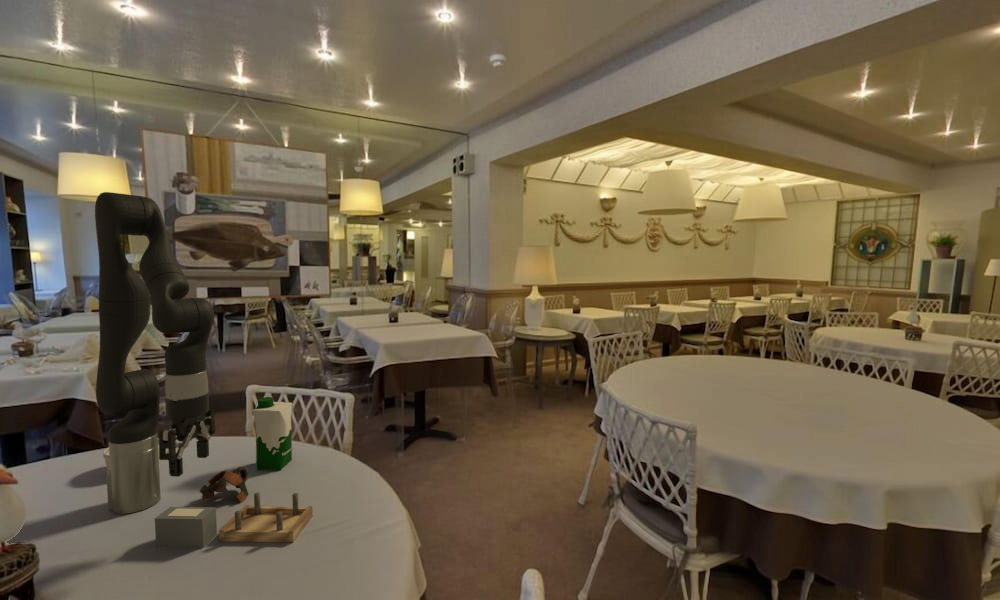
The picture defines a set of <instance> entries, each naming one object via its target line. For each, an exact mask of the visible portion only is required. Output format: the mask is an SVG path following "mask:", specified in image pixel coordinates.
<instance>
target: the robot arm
mask: <svg viewBox="0 0 1000 600" xmlns="http://www.w3.org/2000/svg"><path fill="white" fill-rule="evenodd" d="M94 204H95V205H94V218H95V219H94V220H95V230H96V231H95V232H96V239H97V240H96V242H97V249H98V260H99V261H98V262H99V263H98V265H99V267H98V269H99V270H98V271H99V272H98V273H99V275H98V276H99V277H98V281H99V282H98V284H99V285H98V319H99V320H98V321H99V355H98V362H97V363H98V364H97V372H96V381H95V382H96V384H95V398H96V403H97V404H96V405H97V406H98V408H99V410H100V411H101V412H102V414H104V415H106V416H114V415H118V414H123V413H126V412H127V414H126V415H125V417H124V418H122V419H121V420H120V421H119V422H117V423H115V424H114V425H112V426H111V427H110V428H109V430H108V433H107V437H108V439H107V440H108V447H109V456H110V470H109V471H107V470H106V474H105V478H106V490H107V491H106V492H107V508H108V511H113V513H116V514H120V515H121V514H123V515H125V514H133V513H136V512H140V511H143V510H146V509H148V508H149V509H150V507H152V506H154V505H156V504H157V503H158V502H159V501H160V500H161V496H162V495H161V480H160V479H161V477H160V476H161V475H160V463H159V459H160V460H161V461H168V473H169V476H170V477H175V478H176V477H177V478H178V477H180V476H182V475H183V474H184V466H183V463H184V461H183V454H184V451H185V449H187V448H188V447H189V445H190V442H191V441H192V440H193V439H194V438H195V440H196V457H197V458H198V459H206V458H208V457H209V456H210V452H209V451H210V447H209V446H210V444H209V443H210V440H211V437H212V435H215V434H216V424H215V423H216V421H215V410H214V408H213V409H212V408H210V401H209V400H210V399H209V396H210V395H209V378H208V374H207V358H206V357H207V356H206V354H207V353H206V351H207V347H208V343H209V338H210V335H211V331H212V328H213V325H214V320H215V311H214V308H213V305H212V304H211V303H210V302H209V301H208V300H207V299H206V298H202V297H196V298H195V297H194V298H193V297H192V298H185V297H186V296H187V295H188V294H189V292H190V285H189V282H188V280H187V277H186V276H185V274H184V272H183V270H182V269H181V267H180V265H179V263H178V261H177V259H176V257H175V254H174V251H173V248H172V244H171V241H170V240H171V239H170V238H169V237H170V236H169V234H168V230H167V227H166V223H165V220H164V217H163V214H162V212H161V211H162V210H161V209H160V207H159V205H158V204H157V202H156V201H155V200H154V199H153V198H150V197H148V196H142V195H137V194H136V195H133V194H129V193H128V194H127V193H118V192H111V191H110V192H109V191H104V192H101V193H99V194H98V195H97V198H96V200H95V203H94ZM123 235H124V236H141V237H142V236H145V238H147V241H149V242H148V244H147V247H146V249H145V251H144V252H143V255H142V256H141V259H140V261H139V272H140V275H139V273H138V272H137V271H136V270H135V269H134V267H133V266H132V265H131V263H130V262H129V261H128V258H127V257H126V255H125V253H124V250H123V247H122V242H121V236H123ZM150 318H151V320H152V324H153V326H154V328H155V329H156V330H157V331H158V332H160V333H162V334H165V335H174V334H184V333H188V335H187V337H186V339H184V340H182V341H180V342H177V343H174V344H172V345H169V346H168V347H166V348H165V350H164V364H165V366H164V367H165V381H164V398H165V401H164V403H165V415H166V418H167V419H169V420H170V421H171V426H170V428H169V429H162V430H160V431H159V433H158V425H159V423H160V401H161V400H160V394H161V393H160V392H161V391H160V384H159V380H158V377H157V376H156V374H155V373H154V372H153V371H152V370H150V369H147V368H143V369H137V370H131V371H127V372H126V364H127V358H128V357H129V354H130V352H131V350H132V348H133V347H134V345H135V344H136V343H137V340H139V338H140V337H141V335H142V334H143V332H144V331H145V329H146V327H147V326H148V324H149V321H150ZM207 426H209V428H208V427H207ZM158 438H159V456H158ZM176 441H178V442H176ZM176 449H177V451H176Z"/></svg>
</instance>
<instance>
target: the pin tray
mask: <svg viewBox="0 0 1000 600" xmlns="http://www.w3.org/2000/svg"><path fill="white" fill-rule="evenodd" d="M291 496H292V506H265V505H264V506H261V493H260V492H259V491H257V492H255V493H254V494H253V504H254V506H253V505H252V506H251V505H249V504H244V506H243V507H242V508H241V509H240V510H236V511H235V512H234V515H233V516H232V517H231V518H230V519H229V520H228V521H227V522H226V523H225V524H224V525H223V526H222V527H221V528H220V529H219V530H218V531H219V532H218V533H219V542H243V543H244V542H245V543H247V542H248V543H294V542H295V541H296V540H297V539H298V537H299V536H300V534H301V533H302V531H303V530H304V529H305V528H306V526H307V524H308V523H309V522H310V520H311V519H312V518H313V505H308V506H306V507H305V506H299V493H298V492H294V493H293V494H292V495H291Z"/></svg>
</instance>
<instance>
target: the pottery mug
mask: <svg viewBox="0 0 1000 600" xmlns="http://www.w3.org/2000/svg"><path fill="white" fill-rule="evenodd" d="M248 476H249V472H248V469H247V468H246V467H244V466H238V467H237V468H235V469H234V470H233V471H231V472H230V470H229V469H223V470H221V471H220V472H218V473H216V474H215V475H214V476H212V477H211V478H210V479H209V480H208V484H209V485H207V484H206V483H205V484H204V485H203V486H201V488H200V490H199V493H200V494H202V495H201V500H202V501H207V500H211V501H214V496H215V493H226V492H227V491H228V488H227V483H229V484H230V485H231V486H233V487H235V488H236V489H240V492H239V493H238V495H236V497H235V498H236V499H237V500H238V502H239V503H240V504H242V503H243V502H244V501H245V500H246V499H247V497H248V496H249V491H248V488H247V486H246V483H247V480H248Z"/></svg>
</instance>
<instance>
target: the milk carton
mask: <svg viewBox="0 0 1000 600" xmlns="http://www.w3.org/2000/svg"><path fill="white" fill-rule="evenodd" d="M292 404H293V403H292V402H284V401H274V398H273V397H271V396H266V397H260V398H258V399H257V406H256V407H255V408H254V409H253V410H252V414H253V419H254V422H255V425H254V426H255V448H256V449H255V452H256V453H255V454H256V455H255V456H256V457H255V463H256V464H255V470H256V471H282V470H283V469H284V468H285V467H286V466H287V465H288V464H289V463H290V462H291V461H292V460H293V456H292V455H293V454H292V453H293V449H292V447H293V445H292V444H293V443H292V408H293V405H292Z"/></svg>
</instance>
